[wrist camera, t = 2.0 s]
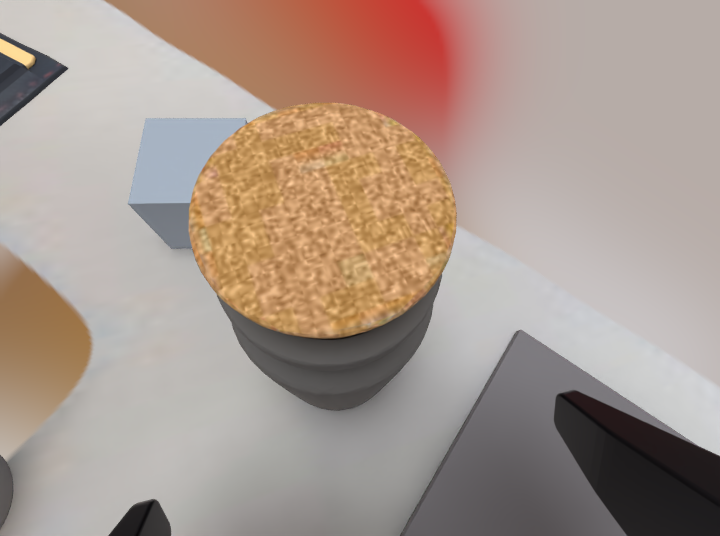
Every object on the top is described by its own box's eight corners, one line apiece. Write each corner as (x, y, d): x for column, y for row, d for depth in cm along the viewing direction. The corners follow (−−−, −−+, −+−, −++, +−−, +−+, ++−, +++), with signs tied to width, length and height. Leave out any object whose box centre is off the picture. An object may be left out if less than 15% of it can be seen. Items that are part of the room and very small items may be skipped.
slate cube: (259, 247, 23) (238, 202, 18) (171, 249, 23) (127, 203, 18) (263, 175, 25) (245, 118, 20) (182, 176, 25) (145, 118, 20)
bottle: (279, 413, 19) (122, 384, 6) (282, 301, 22) (175, 77, 8) (396, 408, 20) (523, 366, 6) (387, 297, 22) (465, 76, 8)
